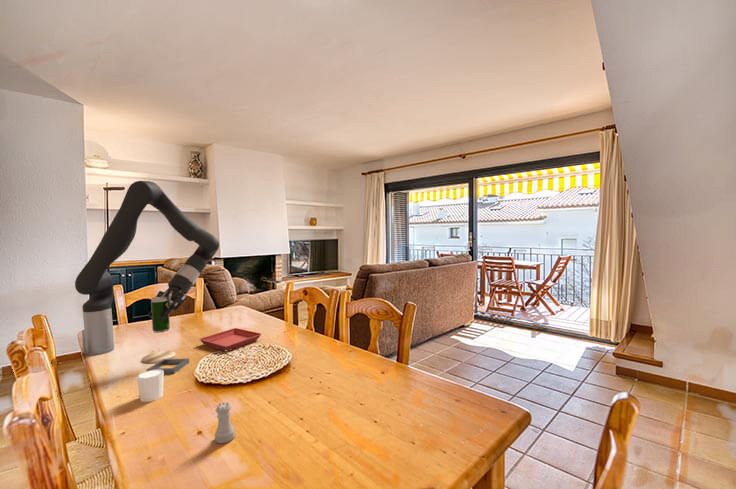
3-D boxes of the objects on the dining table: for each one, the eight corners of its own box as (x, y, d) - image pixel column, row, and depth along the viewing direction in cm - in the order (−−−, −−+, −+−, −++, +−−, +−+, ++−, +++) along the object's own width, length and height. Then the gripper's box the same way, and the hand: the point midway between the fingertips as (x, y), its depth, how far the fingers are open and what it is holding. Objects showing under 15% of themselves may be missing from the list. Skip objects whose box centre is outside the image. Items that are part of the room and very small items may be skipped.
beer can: (152, 334, 123) (150, 300, 122) (152, 330, 128) (150, 297, 127) (170, 331, 126) (168, 298, 125) (169, 327, 131) (167, 295, 130)
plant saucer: (262, 340, 152) (262, 333, 152) (226, 354, 137) (225, 345, 137) (235, 334, 162) (235, 327, 162) (198, 346, 147) (198, 339, 146)
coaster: (135, 363, 129) (135, 361, 129) (154, 352, 140) (154, 351, 140) (164, 363, 129) (164, 361, 129) (181, 352, 140) (181, 350, 140)
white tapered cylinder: (170, 393, 105) (169, 370, 104) (149, 404, 98) (148, 380, 98) (153, 390, 107) (152, 367, 107) (131, 401, 101) (130, 377, 100)
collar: (146, 373, 119) (146, 369, 119) (164, 362, 129) (163, 358, 129) (174, 373, 119) (173, 369, 119) (189, 362, 128) (189, 358, 128)
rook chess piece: (218, 433, 83) (216, 400, 83) (237, 432, 84) (236, 399, 83) (211, 445, 79) (209, 410, 78) (232, 443, 79) (230, 409, 79)
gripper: (165, 272, 136) (135, 310, 126) (190, 274, 129) (160, 314, 119) (178, 283, 141) (150, 321, 131) (203, 286, 134) (176, 325, 124)
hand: (155, 317), depth 125 cm, fingers closed on beer can, 5 cm apart
